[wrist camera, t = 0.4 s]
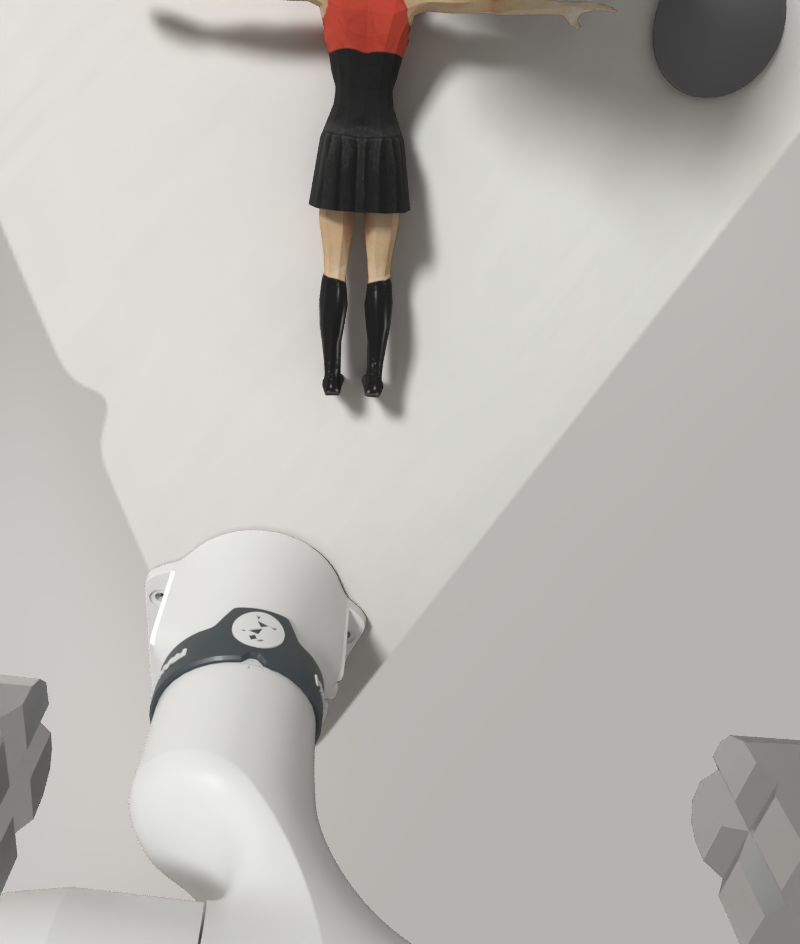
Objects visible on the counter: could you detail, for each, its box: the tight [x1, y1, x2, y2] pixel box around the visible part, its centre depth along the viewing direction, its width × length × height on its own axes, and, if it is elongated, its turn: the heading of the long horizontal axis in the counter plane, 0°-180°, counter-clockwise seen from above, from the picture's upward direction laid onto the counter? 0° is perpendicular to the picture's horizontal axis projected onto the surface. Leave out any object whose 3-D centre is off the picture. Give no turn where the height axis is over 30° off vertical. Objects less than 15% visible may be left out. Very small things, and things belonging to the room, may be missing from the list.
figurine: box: [289, 0, 617, 397], centre depth 48 cm, size 29×6×30 cm
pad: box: [653, 0, 786, 98], centre depth 47 cm, size 8×8×1 cm
